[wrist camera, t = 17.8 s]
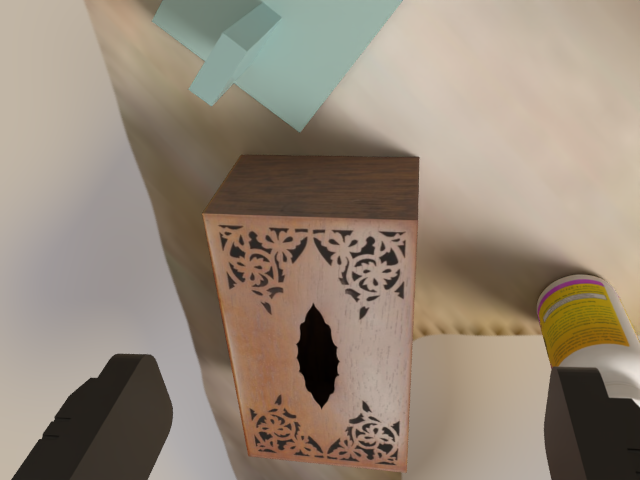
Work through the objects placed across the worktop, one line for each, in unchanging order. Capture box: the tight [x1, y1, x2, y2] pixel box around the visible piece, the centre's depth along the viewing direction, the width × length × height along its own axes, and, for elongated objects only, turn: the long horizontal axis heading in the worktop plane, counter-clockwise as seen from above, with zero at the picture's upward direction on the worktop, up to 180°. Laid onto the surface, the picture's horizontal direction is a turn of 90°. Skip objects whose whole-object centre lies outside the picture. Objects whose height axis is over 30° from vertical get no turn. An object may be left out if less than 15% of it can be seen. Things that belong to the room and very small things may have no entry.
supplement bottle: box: [537, 275, 640, 407], centre depth 43 cm, size 7×7×13 cm
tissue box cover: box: [202, 155, 419, 473], centre depth 48 cm, size 26×14×10 cm, turn 3°
